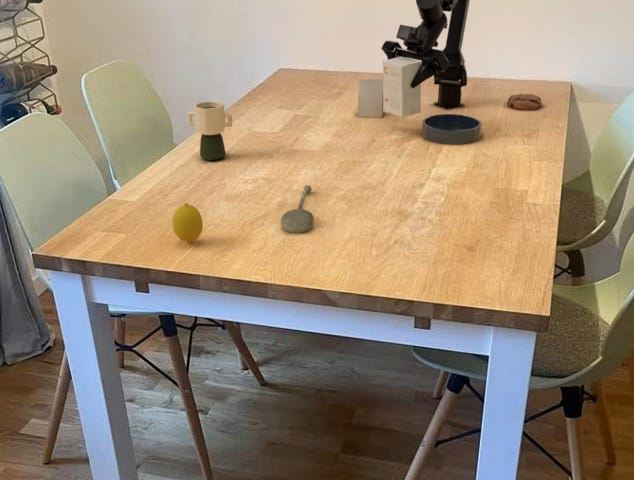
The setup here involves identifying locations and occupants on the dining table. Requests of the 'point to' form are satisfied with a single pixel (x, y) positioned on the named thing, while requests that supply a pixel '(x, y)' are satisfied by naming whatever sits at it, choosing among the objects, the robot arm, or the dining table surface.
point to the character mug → (210, 128)
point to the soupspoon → (298, 217)
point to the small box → (401, 87)
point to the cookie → (524, 101)
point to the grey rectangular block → (370, 98)
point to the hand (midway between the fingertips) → (398, 84)
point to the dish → (451, 129)
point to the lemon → (187, 223)
